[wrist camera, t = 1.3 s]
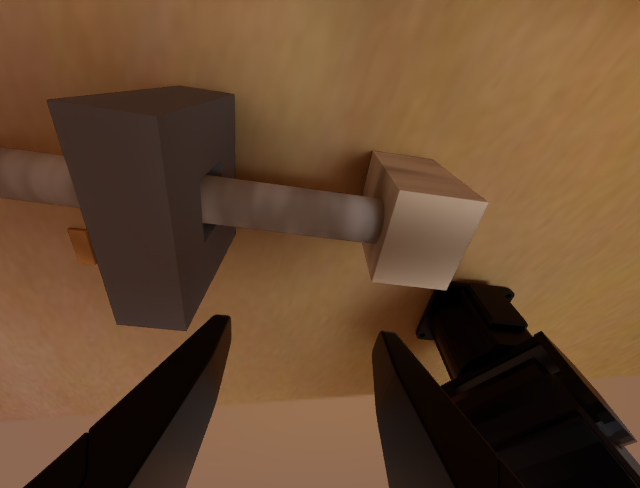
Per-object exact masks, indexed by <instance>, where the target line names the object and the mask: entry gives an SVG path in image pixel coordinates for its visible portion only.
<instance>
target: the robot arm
mask: <svg viewBox="0 0 640 488" xmlns="http://www.w3.org/2000/svg"><path fill="white" fill-rule="evenodd" d="M513 297H514V293H513V292H512V290H511V289H509V288H500V287H496V286H487V285H478V284H466V283H457V282H450V284H449V286H448V288H447V290H438V289H435V290H434V293H433V295H432V297H431V299H430V301H429V304H428V306H427V308H426V310H425V312H424V315H423V317H422V319H421V321H420V323H419V326H418V328H417V330H416V335H417V338H419V339H425V340H434V341H435V344H436V346H437V348H438V351H439V353H440V355H441V358H442V360H443V362H444V365H445V367H446V369H447V372H448V374H449V376H450V379H451V381H449V382H447V383H445V384H443V385H441V386H440V385H439V384H438V383H437V382H436V381H435V379H434V378H433V377H432V376H431V375H430V373H429V372H428V371H427V370H426V369H425V367H424V366H423V365H422V364H421V363H420V361H419V360H418V359H417V358H416V357H415V355H414V354H413V353H412V352H411V351H410V349H409V348H408V347H407V346H406V345H405V343H404V342H403V341H402V340H401V339H400V337H399V336H398V335H397V334H396V333H395V332H391V331H380V332H379V334H378V337H377V339H376V342H375V345H374V348H373V351H372V364H373V378H374V392H375V405H376V415H377V422H378V428H379V433H380V439H381V444H382V449H383V456H384V461H385V467H386V472H387V478H388V483H389V488H640V465H639V464H638V462H637V461H636V460H635V459H634V458H633V456H632V455H631V454H630V453H629V452H628V450H627V449H626V448H625V447H624V446H626V445H629V444H632V443H635V442H637V440H636V439H635V438H634V436H633V435H632V434H631V433H630V431H629V430H628V429H627V428H626V426H625V425H624V424H623V423H622V421H621V420H620V419H619V418H618V416H617V415H616V414H615V413H614V411H613V410H612V409H611V407H610V406H609V405H608V404H607V403H606V401H605V400H604V399H603V397H602V396H601V395H600V394H599V393H598V391H597V390H596V389H595V388H594V387H593V386H592V385H591V384H590V382H589V381H588V380H587V379H586V378H585V377H584V376H583V374H582V373H581V372H580V371H579V370H578V369H577V368H576V367H575V365H574V364H573V363H572V362H571V361H570V360H569V359H568V358H567V357H566V356H565V355H564V354H563V353H562V352H561V351H560V350H559V349H558V348H557V347H556V346H555V344H554V343H553V342H552V341H551V340H550V339H549V338H548V337H547V336H546V335H545V334H544V333H543V332H542V331H540V332H538V333H536V334H534V337H533V336H532V335H531V334H530V333H529V332H528V330H527V329H526V328H527V326H528V324H527V322H526V321H525V320H524V318H523V317H522V316H521V315H520V314H519V312H518V311H517V310H516V309H515V308H514V306H513V305H512V304H511V303H510V302H511V300H512V299H513ZM230 344H231V318H230V316H228V315H214V316H213V317H211V318H210V319H209V320H208V321H207V322H206V323H205V324H204V325H203V326H202V327H200V328H199V329H198V330H197V331H196V332H195V333H194V334H193V335H192V336H191V337H190V338H188V339H187V340H186V341H185V342H184V343H183V344H182V345H181V346H180V347H179V348H177V349H176V350H175V351H174V352H173V353H172V354H171V355H170V356H169V357H168V358H167V359H165V360H164V361H163V362H162V363H161V364H160V365H159V366H158V367H157V368H156V369H154V370H153V371H152V372H151V373H150V374H149V375H148V376H147V377H146V378H145V379H144V380H142V381H141V382H140V383H139V384H138V385H137V386H136V387H135V388H134V389H133V390H131V391H130V392H129V393H128V394H127V395H126V396H125V397H124V398H123V399H122V400H121V401H119V402H118V403H117V404H116V405H115V406H114V407H113V408H112V409H111V410H110V411H108V412H107V413H106V414H105V415H104V416H103V417H102V418H101V419H100V420H99V421H97V422H96V423H95V424H94V425H93V426H92V427H91V428H90V429H89V433H84V434H83V435H82V436H81V437H80V438H79V439H78V440H77V441H75V442H74V443H73V444H72V445H71V446H70V447H69V448H68V449H67V450H66V451H64V452H63V453H62V454H61V455H60V456H59V457H58V458H57V459H55V460H54V461H53V462H52V463H51V464H50V465H48V466H47V467H46V468H45V469H44V470H43V471H42V472H41V473H39V474H38V475H37V476H36V477H35V478H34V479H33V480H31V481H30V482H29V483H28V484H27V485H25V486H24V487H23V488H186V485H187V482H188V479H189V476H190V474H191V470H192V468H193V465H194V463H195V460H196V457H197V454H198V452H199V449H200V446H201V443H202V440H203V438H204V435H205V432H206V429H207V427H208V424H209V421H210V418H211V416H212V413H213V410H214V407H215V404H216V401H217V397H218V393H219V390H220V385H221V381H222V377H223V373H224V369H225V365H226V361H227V356H228V352H229V348H230Z"/></svg>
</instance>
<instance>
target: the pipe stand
mask: <svg viewBox="0 0 640 488" xmlns="http://www.w3.org/2000/svg"><path fill="white" fill-rule="evenodd" d="M199 181H200V194H201V207H202V221H203V223H208V224H217V225H225V226H233V227H241V228H249V229H257V230H265V231H274V232H282V233H290V234H298V235H306V236H314V237H322V238H330V239H339V240H347V241H355V242H362V245H363V249H364V253H365V257H366V261H367V265H368V269H369V273H370V277H371V280H372V282H375V283H384V284H393V285H402V286H411V287H420V288H429V289H438V290H447V288H448V286H449V284H450V282H451V280H452V278H453V276H454V274H455V272H456V269H457V267H458V265H459V263H460V261H461V259H462V257H463V255H464V253H465V251H466V249H467V247H468V245H469V243H470V241H471V238H472V236H473V234H474V232H475V230H476V228H477V226H478V224H479V222H480V220H481V218H482V216H483V214H484V212H485V209H486V207H487V205H488V203H489V202H488V201H486V200H485V199H484V198H482V197H481V196H480V195H478V194H477V193H476V192H475V191H473V190H472V189H471V188H469V187H468V186H467V185H465V184H464V183H463V182H462V181H460V180H459V179H458V178H456V177H455V176H454V175H452V174H451V173H450V172H449V171H447V170H446V169H445V168H443V167H442V166H441V165H439V164H438V163H437V162H436V161H434V160H431V159H425V158H418V157H411V156H405V155H398V154H391V153H384V152H378V151H373V152H372V156H371V160H370V165H369V169H368V173H367V178H366V182H365V186H364V190H363V195H362V196H358V195H351V194H344V193H336V192H329V191H322V190H314V189H307V188H300V187H292V186H285V185H278V184H270V183H263V182H256V181H248V180H241V179H233V178H226V177H219V176H211V175H204V176H203V177H202V178H201V179H200V180H199ZM0 198H5V199H13V200H21V201H29V202H38V203H46V204H54V205H62V206H70V207H78V208H80V206H79V202H78V199H77V196H76V193H75V190H74V187H73V183H72V180H71V177H70V174H69V171H68V167H67V164H66V161H65V158H64V155H57V154H50V153H42V152H35V151H27V150H20V149H13V148H5V147H0ZM67 230H68V233H69V236H70V239H71V241H72V244H73V247H74V250H75V253H76V256H77V258H78V261H79V263H83V264H92V265H96V264H97V261H96V258H95V255H94V252H93V249H92V246H91V242H90V239H89V236H88V233H87V230H82V229H74V228H68V229H67Z"/></svg>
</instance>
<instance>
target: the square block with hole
mask: <svg viewBox="0 0 640 488" xmlns="http://www.w3.org/2000/svg"><path fill="white" fill-rule="evenodd" d="M47 103H48V107H49V110H50V113H51V116H52V119H53V123H54V126H55V129H56V132H57V135H58V139H59V142H60V145H61V148H62V151H63V155H64V158H65V161H66V164H67V167H68V171H69V174H70V177H71V180H72V183H73V187H74V190H75V193H76V196H77V199H78V202H79V206H80V209H81V212H82V215H83V218H84V222H85V225H86V228H87V231H88V234H89V238H90V241H91V244H92V247H93V250H94V254H95V257H96V260H97V263H98V266H99V270H100V273H101V276H102V279H103V282H104V286H105V289H106V292H107V295H108V298H109V302H110V305H111V308H112V311H113V314H114V317H115V321H116V324H117V325H126V326H137V327H148V328H158V329H169V330H180V331H187V329H188V327H189V325H190V323H191V321H192V319H193V317H194V315H195V313H196V311H197V309H198V307H199V305H200V303H201V301H202V299H203V297H204V295H205V293H206V291H207V289H208V287H209V285H210V284H211V282H212V280H213V278H214V276H215V274H216V272H217V270H218V268H219V266H220V264H221V262H222V260H223V258H224V256H225V254H226V252H227V250H228V248H229V246H230V244H231V242H232V240H233V238H234V236H235V234H236V227H233V226H225V225H217V224H208V223H203V221H202V207H201V194H200V181H199V180H200V179H201V178H202V177H203V176H204V175H211V176H219V177H226V178H233V179H235V100H234V94H228V93H222V92H216V91H209V90H203V89H197V88H190V87H184V86H172V87H162V88H153V89H143V90H134V91H124V92H115V93H105V94H96V95H86V96H77V97H67V98H58V99H48V100H47Z"/></svg>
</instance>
